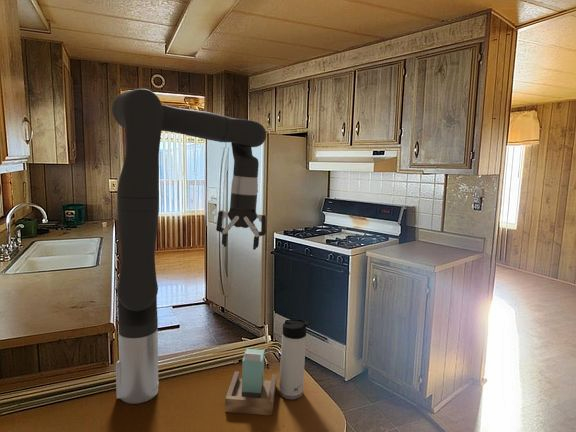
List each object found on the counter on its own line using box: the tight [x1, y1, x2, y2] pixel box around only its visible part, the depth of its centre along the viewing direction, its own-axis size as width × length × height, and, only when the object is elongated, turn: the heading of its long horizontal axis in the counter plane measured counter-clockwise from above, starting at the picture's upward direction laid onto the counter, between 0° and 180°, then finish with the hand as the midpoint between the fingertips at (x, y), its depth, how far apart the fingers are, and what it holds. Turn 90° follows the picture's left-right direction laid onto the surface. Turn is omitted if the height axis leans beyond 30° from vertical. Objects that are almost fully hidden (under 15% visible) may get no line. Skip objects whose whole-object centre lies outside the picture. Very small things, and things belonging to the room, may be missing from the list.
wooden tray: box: [224, 370, 278, 416], centre depth 102 cm, size 11×12×4 cm
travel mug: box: [278, 318, 309, 400], centre depth 104 cm, size 6×7×20 cm
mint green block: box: [241, 348, 265, 398], centre depth 102 cm, size 5×6×12 cm
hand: (240, 247), depth 116 cm, fingers open, 8 cm apart
